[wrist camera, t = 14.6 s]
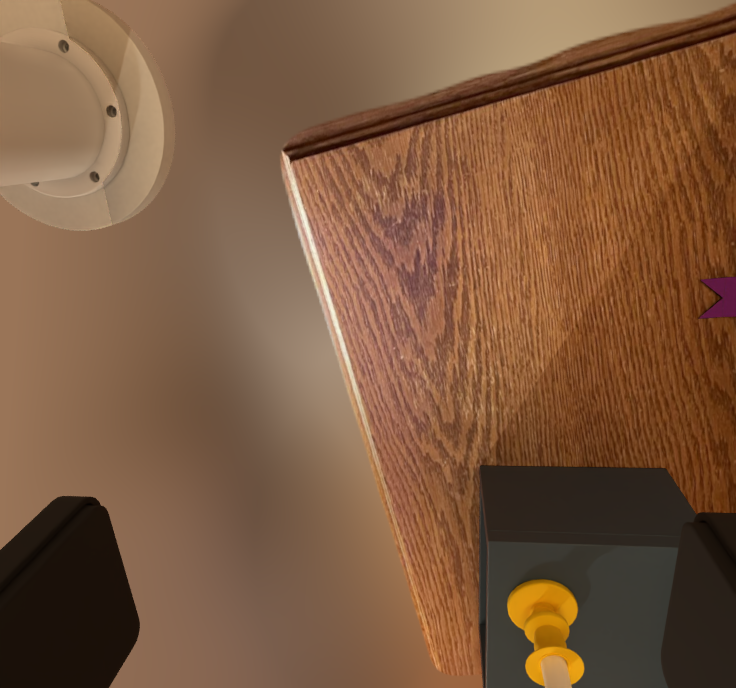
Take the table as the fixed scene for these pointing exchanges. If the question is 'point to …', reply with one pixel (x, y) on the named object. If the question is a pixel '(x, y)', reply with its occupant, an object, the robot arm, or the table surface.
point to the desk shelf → (580, 566)
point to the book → (732, 294)
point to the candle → (547, 631)
